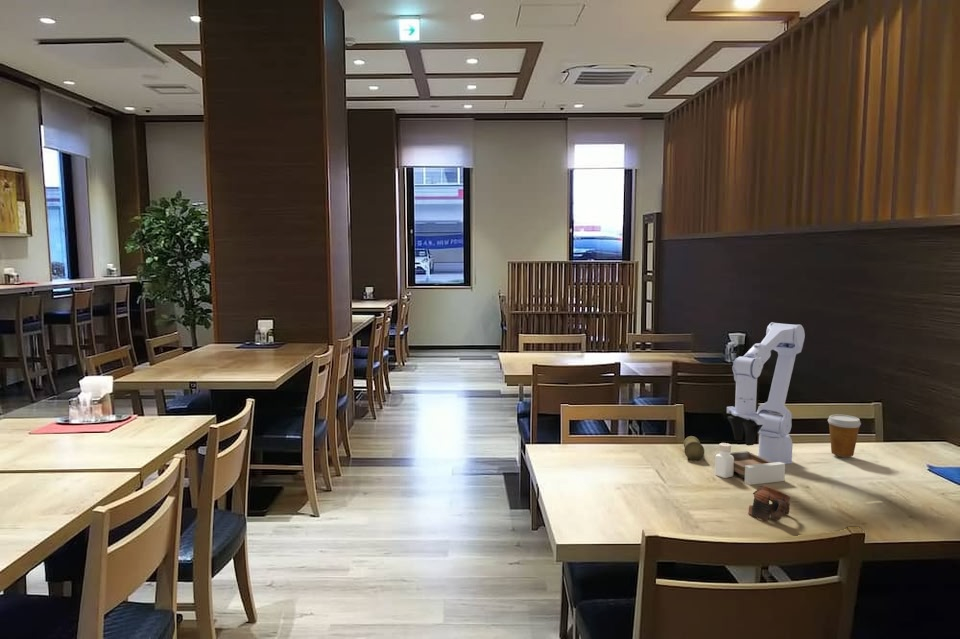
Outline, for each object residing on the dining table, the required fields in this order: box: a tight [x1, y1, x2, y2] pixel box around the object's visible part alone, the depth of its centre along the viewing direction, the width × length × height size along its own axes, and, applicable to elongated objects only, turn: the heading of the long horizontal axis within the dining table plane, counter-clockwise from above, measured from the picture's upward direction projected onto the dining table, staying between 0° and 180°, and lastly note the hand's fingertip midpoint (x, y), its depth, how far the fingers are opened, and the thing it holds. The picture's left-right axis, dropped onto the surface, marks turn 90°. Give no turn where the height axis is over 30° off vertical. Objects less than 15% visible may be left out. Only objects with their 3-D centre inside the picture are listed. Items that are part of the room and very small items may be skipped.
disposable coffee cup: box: [827, 414, 862, 458], centre depth 213 cm, size 10×10×12 cm
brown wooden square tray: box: [730, 450, 772, 479], centre depth 196 cm, size 11×11×4 cm
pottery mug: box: [748, 484, 791, 522], centre depth 163 cm, size 12×9×8 cm
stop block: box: [744, 462, 786, 486], centre depth 188 cm, size 12×2×5 cm, turn 106°
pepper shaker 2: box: [714, 442, 734, 479], centre depth 193 cm, size 4×4×10 cm
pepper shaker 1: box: [683, 435, 705, 461], centre depth 213 cm, size 6×6×11 cm
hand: (744, 442), depth 195 cm, fingers open, 5 cm apart
